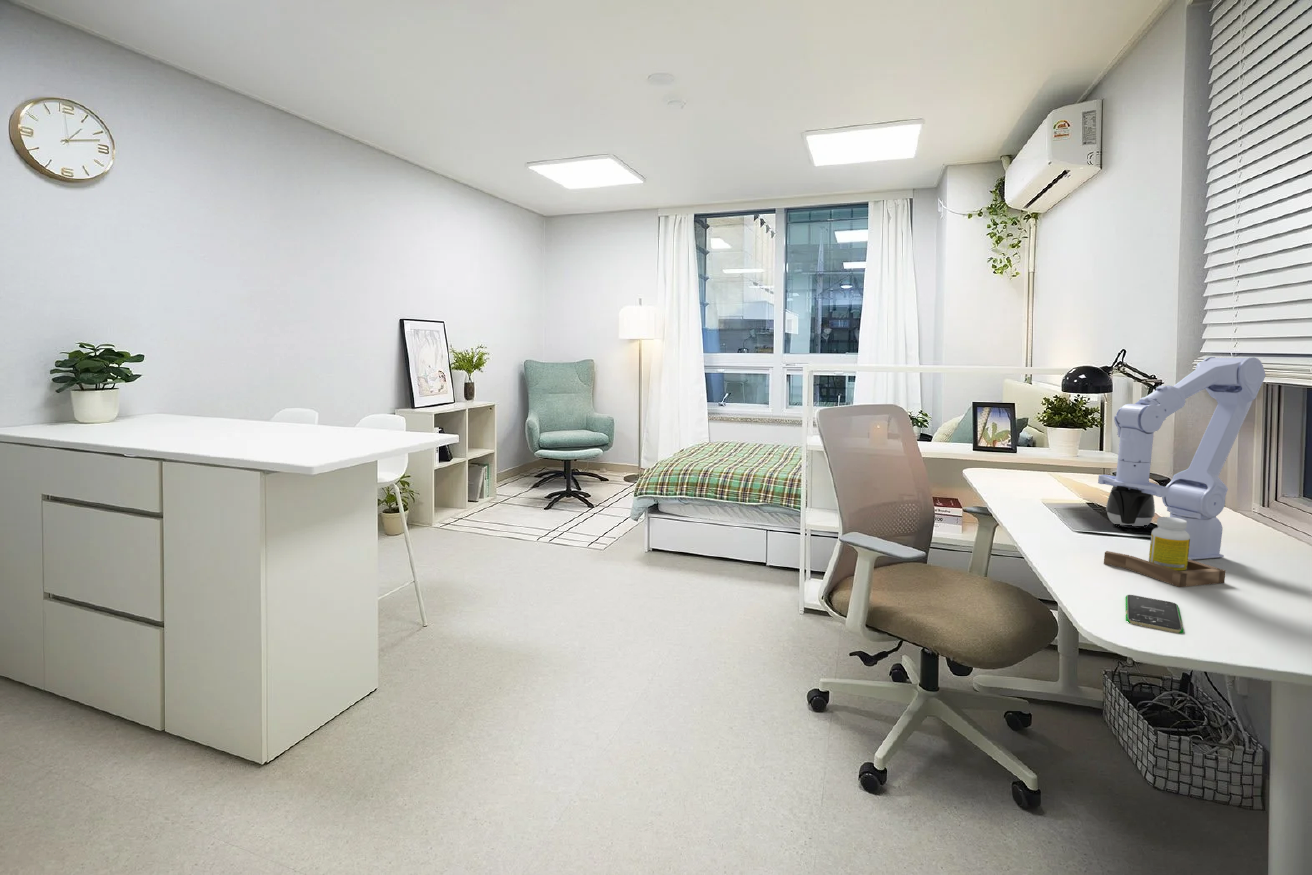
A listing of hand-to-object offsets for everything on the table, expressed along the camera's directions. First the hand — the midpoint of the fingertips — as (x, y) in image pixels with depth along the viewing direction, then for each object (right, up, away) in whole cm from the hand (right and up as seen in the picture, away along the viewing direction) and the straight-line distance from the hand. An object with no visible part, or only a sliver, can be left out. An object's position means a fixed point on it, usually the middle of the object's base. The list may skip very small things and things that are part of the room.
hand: (1127, 523), depth 142 cm
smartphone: (-17, -12, -29) cm, 36 cm away
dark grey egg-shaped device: (+20, -5, +28) cm, 35 cm away
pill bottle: (+2, -9, -8) cm, 12 cm away
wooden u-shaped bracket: (+2, -9, -7) cm, 12 cm away
